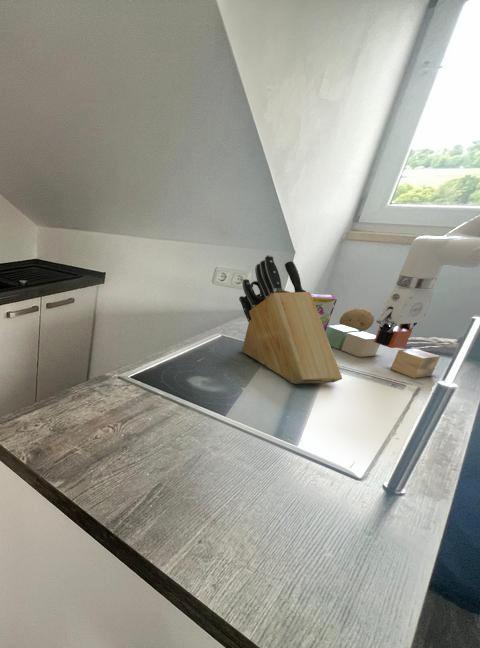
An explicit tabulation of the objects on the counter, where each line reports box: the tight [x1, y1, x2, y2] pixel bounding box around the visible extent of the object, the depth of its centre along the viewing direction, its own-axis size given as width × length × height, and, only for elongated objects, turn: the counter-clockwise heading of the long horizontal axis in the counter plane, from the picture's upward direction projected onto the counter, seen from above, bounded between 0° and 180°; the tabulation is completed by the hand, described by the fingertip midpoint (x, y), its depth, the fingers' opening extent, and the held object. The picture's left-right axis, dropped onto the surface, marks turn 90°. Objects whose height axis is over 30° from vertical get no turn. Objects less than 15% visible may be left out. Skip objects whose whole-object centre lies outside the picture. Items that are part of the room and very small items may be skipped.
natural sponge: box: [339, 307, 375, 332], centre depth 137 cm, size 9×9×10 cm
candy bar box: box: [311, 293, 338, 331], centre depth 131 cm, size 11×5×16 cm, turn 71°
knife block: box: [238, 254, 343, 385], centre depth 114 cm, size 11×35×31 cm, turn 2°
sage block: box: [325, 324, 360, 350], centre depth 130 cm, size 6×6×6 cm
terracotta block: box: [374, 325, 413, 349], centre depth 115 cm, size 5×5×5 cm
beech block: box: [390, 347, 441, 379], centre depth 110 cm, size 6×6×6 cm
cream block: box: [340, 331, 381, 358], centre depth 124 cm, size 6×6×6 cm
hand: (390, 342), depth 116 cm, fingers closed on terracotta block, 5 cm apart
